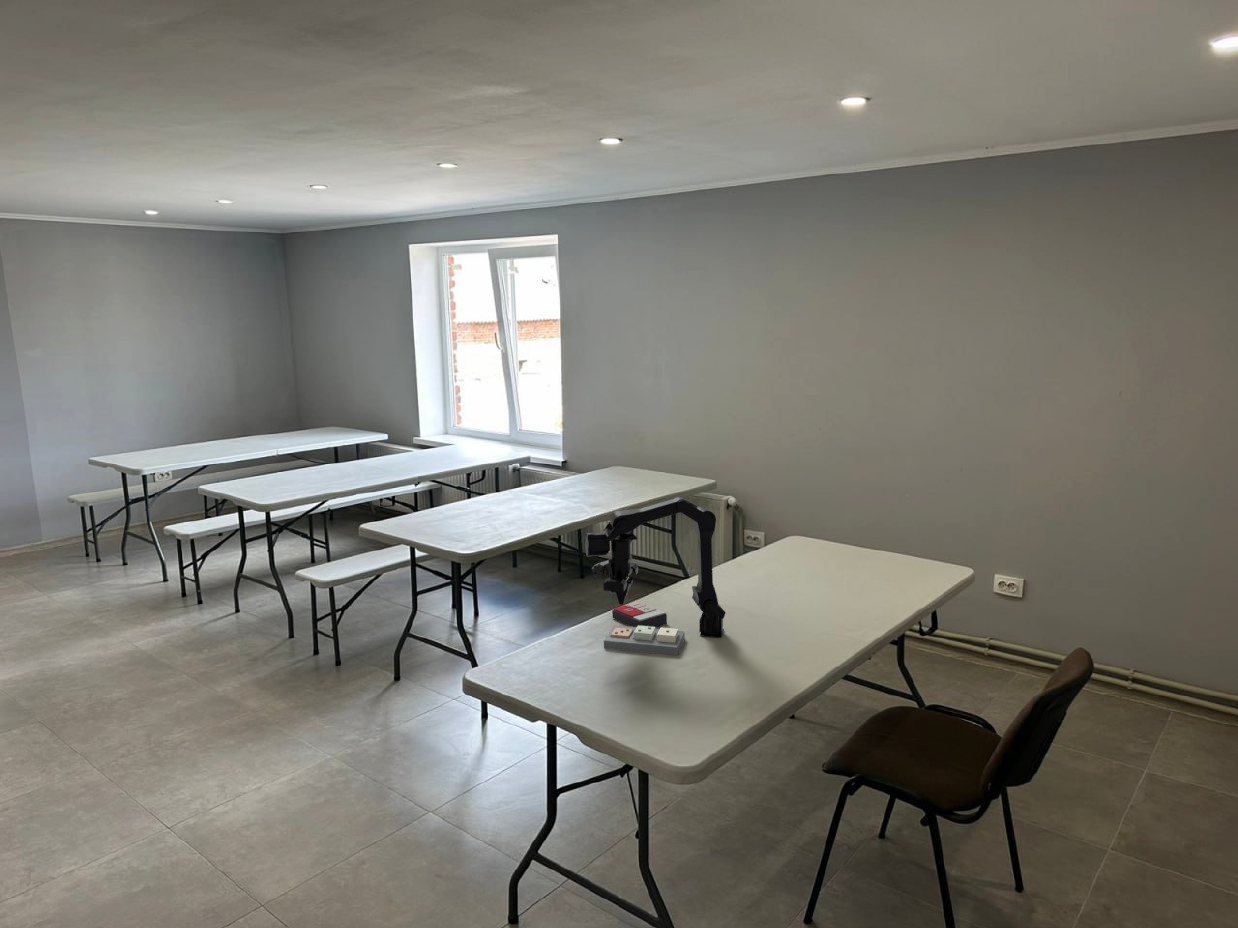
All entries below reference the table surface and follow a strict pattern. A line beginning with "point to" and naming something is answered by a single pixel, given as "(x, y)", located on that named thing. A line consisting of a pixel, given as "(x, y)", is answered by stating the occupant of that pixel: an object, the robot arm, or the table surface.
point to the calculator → (639, 615)
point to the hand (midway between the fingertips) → (621, 604)
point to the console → (643, 643)
